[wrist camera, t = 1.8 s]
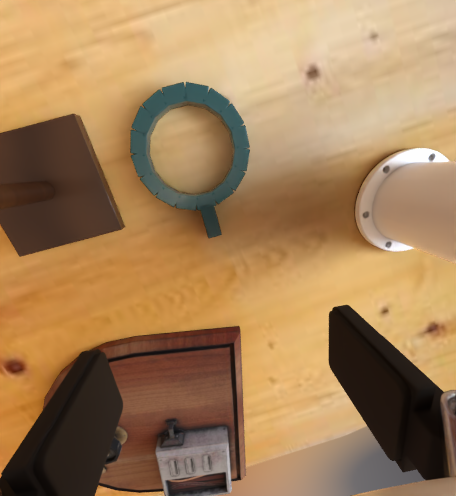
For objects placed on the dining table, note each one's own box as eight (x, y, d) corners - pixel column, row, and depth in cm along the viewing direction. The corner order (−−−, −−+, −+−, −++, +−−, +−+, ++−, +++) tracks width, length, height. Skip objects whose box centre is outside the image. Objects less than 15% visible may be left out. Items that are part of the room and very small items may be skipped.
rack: (79, 116, 24) (-53, 60, 12) (125, 226, 28) (61, 272, 16) (-35, 146, 24) (-289, 122, 12) (26, 253, 28) (-116, 320, 16)
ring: (232, 74, 24) (233, 68, 23) (262, 220, 29) (265, 223, 28) (116, 105, 24) (110, 101, 23) (167, 246, 29) (164, 250, 28)
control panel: (249, 505, 39) (58, 534, 37) (244, 468, 44) (75, 492, 42) (244, 352, 29) (-17, 380, 27) (239, 326, 34) (17, 347, 32)
